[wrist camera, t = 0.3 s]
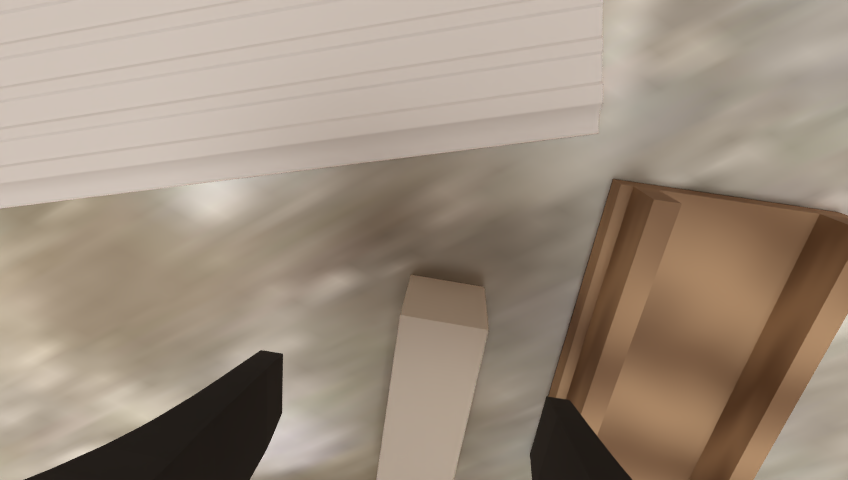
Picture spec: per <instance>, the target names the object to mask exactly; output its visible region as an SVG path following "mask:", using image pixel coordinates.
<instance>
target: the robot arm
mask: <svg viewBox="0 0 848 480" xmlns="http://www.w3.org/2000/svg"><path fill="white" fill-rule="evenodd" d="M282 376H283V354H281V353H275V352H269V351H262V350H261V351H259V352H258V353H256V354H255V355H253V356H252V357H250V358H249V359H247V360H246V361H244V362H243V363H241V364H240V365H238V366H237V367H236V368H234V369H233V370H231V371H230V372H228V373H227V374H225V375H224V376H222V377H221V378H219V379H218V380H216V381H215V382H213V383H212V384H210V385H209V386H207V387H206V388H204V389H203V390H201V391H200V392H198V393H197V394H195V395H194V396H192V397H190V398H189V399H187V400H185V401H184V402H182V403H180V404H179V405H177V406H175V407H174V408H172V409H170V410H169V411H167V412H165V413H164V414H162V415H160V416H159V417H157V418H155V419H154V420H152V421H150V422H148V423H146V424H145V425H143V426H141V427H139V428H137V429H135V430H133V431H131V432H129V433H127V434H125V435H124V436H122V437H120V438H118V439H116V440H114V441H112V442H110V443H108V444H106V445H103V446H101V447H99V448H97V449H95V450H93V451H90V452H88V453H86V454H84V455H81V456H79V457H77V458H75V459H72V460H70V461H68V462H66V463H63V464H61V465H59V466H57V467H54V468H52V469H50V470H47V471H45V472H42V473H40V474H37V475H35V476H32V477H30V478H27V479H25V480H250V478H251V476H252V474H253V473H254V471H255V469H256V467H257V466H258V464H259V462H260V460H261V459H262V457H263V455H264V453H265V451H266V450H267V447H268V445H269V443H270V441H271V438H272V436H273V434H274V431H275V429H276V426H277V424H278V422H279V419H280V417H281V414H282ZM530 458H531V471H532V480H632V479H631V477H630V476H629V475H628V474H627V473H626V471H625V470H624V469H623V468H622V467H621V465H620V464H619V463H618V462H617V460H616V459H615V458H614V457H613V456H612V454H611V453H610V452H609V451H608V449H607V448H606V447H605V445H604V444H603V443H602V442H601V440H600V439H599V438H598V436H597V435H596V434H595V432H594V431H593V430H592V429H591V427H590V426H589V425H588V423H587V422H586V421H585V419H584V418H583V417H582V415H581V414H580V413H579V411H578V410H577V409H576V407H575V406H574V405H573V404H572V402H571V401H570V400H567V399H560V398H554V397H548V396H547V397H546V401H545V404H544V408H543V411H542V415H541V418H540V422H539V425H538V429H537V432H536V436H535V439H534V443H533V446H532V450H531V453H530Z"/></svg>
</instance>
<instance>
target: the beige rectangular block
mask: <svg viewBox="0 0 848 480" xmlns="http://www.w3.org/2000/svg"><path fill="white" fill-rule="evenodd" d="M488 331H489V327H488V317H487V307H486V297H485V287H481V286H475V285H469V284H463V283H457V282H452V281H446V280H440V279H434V278H428V277H422V276H416V275H411V276H410V280H409V284H408V287H407V291H406V295H405V299H404V302H403V306H402V310H401V314H400V320H399V327H398V333H397V340H396V347H395V354H394V361H393V368H392V375H391V382H390V389H389V396H388V403H387V410H386V417H385V424H384V430H383V437H382V444H381V451H380V458H379V465H378V472H377V479H376V480H454V476H455V471H456V467H457V463H458V459H459V454H460V450H461V446H462V442H463V437H464V433H465V429H466V425H467V421H468V416H469V412H470V408H471V404H472V399H473V395H474V391H475V387H476V382H477V378H478V374H479V370H480V365H481V361H482V357H483V353H484V348H485V344H486V340H487V336H488Z"/></svg>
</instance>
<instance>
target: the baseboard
mask: <svg viewBox="0 0 848 480" xmlns="http://www.w3.org/2000/svg"><path fill="white" fill-rule="evenodd" d="M602 54H603V0H0V208H8V207H16V206H24V205H32V204H40V203H48V202H56V201H64V200H72V199H80V198H88V197H96V196H104V195H112V194H120V193H128V192H136V191H143V190H151V189H159V188H167V187H175V186H183V185H191V184H199V183H207V182H215V181H223V180H231V179H239V178H247V177H255V176H263V175H271V174H279V173H287V172H295V171H303V170H311V169H319V168H327V167H335V166H343V165H351V164H359V163H367V162H375V161H383V160H391V159H399V158H407V157H415V156H423V155H431V154H439V153H447V152H455V151H463V150H471V149H479V148H487V147H495V146H503V145H511V144H519V143H527V142H535V141H543V140H551V139H559V138H567V137H575V136H583V135H591V134H598V133H599V115H600V110H601V107H602V104H603V81H602Z"/></svg>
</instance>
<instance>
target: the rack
mask: <svg viewBox="0 0 848 480" xmlns="http://www.w3.org/2000/svg"><path fill="white" fill-rule="evenodd" d="M847 314H848V216H847V215H844V214H842V213H839V212H833V211H826V210H820V209H813V208H806V207H799V206H793V205H786V204H779V203H772V202H765V201H759V200H752V199H745V198H738V197H732V196H725V195H718V194H711V193H705V192H698V191H691V190H684V189H677V188H671V187H664V186H657V185H650V184H644V183H637V182H630V181H623V180H616V179H613V181H612V184H611V188H610V191H609V194H608V198H607V201H606V204H605V208H604V211H603V215H602V218H601V221H600V225H599V228H598V231H597V235H596V238H595V241H594V245H593V248H592V251H591V255H590V258H589V261H588V265H587V268H586V272H585V275H584V278H583V282H582V285H581V288H580V292H579V295H578V298H577V302H576V305H575V308H574V312H573V315H572V319H571V322H570V325H569V329H568V332H567V335H566V339H565V342H564V345H563V349H562V352H561V355H560V359H559V362H558V365H557V369H556V372H555V376H554V379H553V382H552V386H551V389H550V392H549V396H548V397H554V398H560V399H567V400H570V401H571V402H572V404H573V405H574V406H575V407H576V409H577V410H578V411H579V413H580V414H581V415H582V417H583V418H584V419H585V421H586V422H587V423H588V425H589V426H590V427H591V429H592V430H593V431H594V432H595V434H596V435H597V436H598V438H599V439H600V440H601V442H602V443H603V444H604V445H605V447H606V448H607V449H608V451H609V452H610V453H611V454H612V456H613V457H614V458H615V459H616V460H617V462H618V463H619V464H620V465H621V467H622V468H623V469H624V470H625V471H626V473H627V474H628V475H629V476H630V477H631V479H632V480H753V479H754V478H755V476H756V474H757V472H758V471H759V469H760V467H761V465H762V464H763V462H764V460H765V458H766V456H767V455H768V453H769V451H770V449H771V448H772V446H773V444H774V442H775V441H776V439H777V437H778V435H779V434H780V432H781V430H782V428H783V427H784V425H785V423H786V421H787V419H788V418H789V416H790V414H791V412H792V411H793V409H794V407H795V405H796V404H797V402H798V400H799V398H800V397H801V395H802V393H803V391H804V390H805V388H806V386H807V384H808V383H809V381H810V379H811V377H812V375H813V374H814V372H815V370H816V368H817V367H818V365H819V363H820V361H821V360H822V358H823V356H824V354H825V353H826V351H827V349H828V347H829V346H830V344H831V342H832V340H833V339H834V337H835V335H836V333H837V331H838V330H839V328H840V326H841V324H842V323H843V321H844V319H845V317H846V316H847Z"/></svg>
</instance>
